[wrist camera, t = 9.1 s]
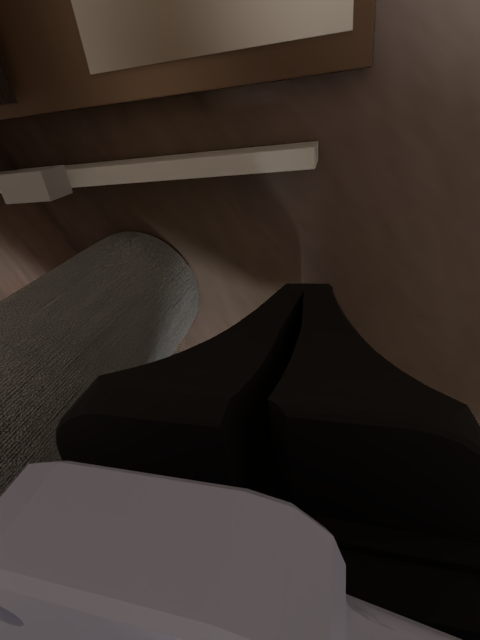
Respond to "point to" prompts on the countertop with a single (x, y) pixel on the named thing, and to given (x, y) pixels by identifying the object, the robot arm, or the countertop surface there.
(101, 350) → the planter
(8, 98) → the cover
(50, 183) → the white rectangular frame
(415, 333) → the countertop surface
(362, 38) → the track
